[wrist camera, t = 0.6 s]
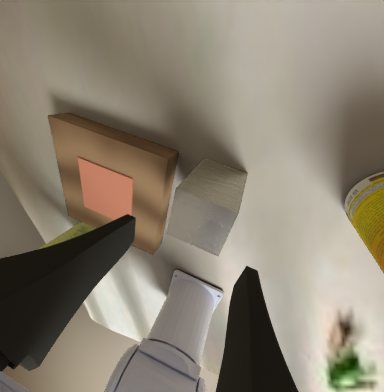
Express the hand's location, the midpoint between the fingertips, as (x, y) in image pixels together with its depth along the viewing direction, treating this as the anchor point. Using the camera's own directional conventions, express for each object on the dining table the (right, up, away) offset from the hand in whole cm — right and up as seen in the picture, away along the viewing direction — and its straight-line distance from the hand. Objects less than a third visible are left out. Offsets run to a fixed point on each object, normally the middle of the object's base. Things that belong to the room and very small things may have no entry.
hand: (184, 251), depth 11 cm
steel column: (+3, +5, +8) cm, 10 cm away
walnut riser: (-9, +5, +13) cm, 16 cm away
